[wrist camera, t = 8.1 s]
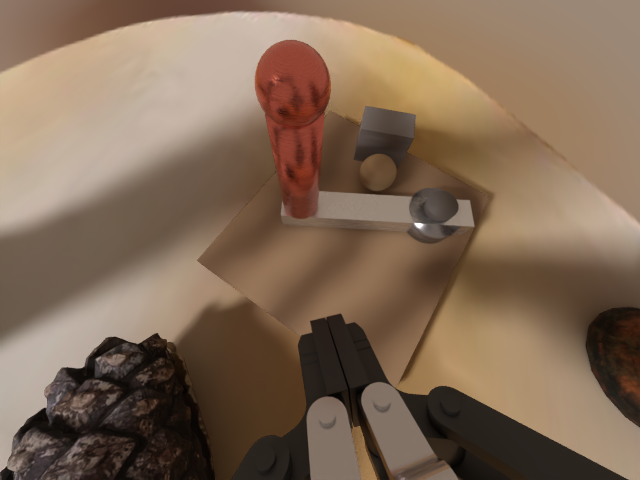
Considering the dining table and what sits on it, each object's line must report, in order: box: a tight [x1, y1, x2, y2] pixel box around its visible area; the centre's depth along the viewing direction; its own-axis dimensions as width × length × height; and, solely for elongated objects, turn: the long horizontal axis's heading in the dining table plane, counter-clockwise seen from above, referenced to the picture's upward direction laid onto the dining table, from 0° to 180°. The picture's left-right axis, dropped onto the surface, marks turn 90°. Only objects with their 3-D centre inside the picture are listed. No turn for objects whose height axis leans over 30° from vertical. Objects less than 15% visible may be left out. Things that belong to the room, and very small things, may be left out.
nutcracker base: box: [197, 106, 489, 388], centre depth 21 cm, size 18×20×6 cm
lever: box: [255, 40, 475, 244], centre depth 16 cm, size 16×4×14 cm, turn 87°
